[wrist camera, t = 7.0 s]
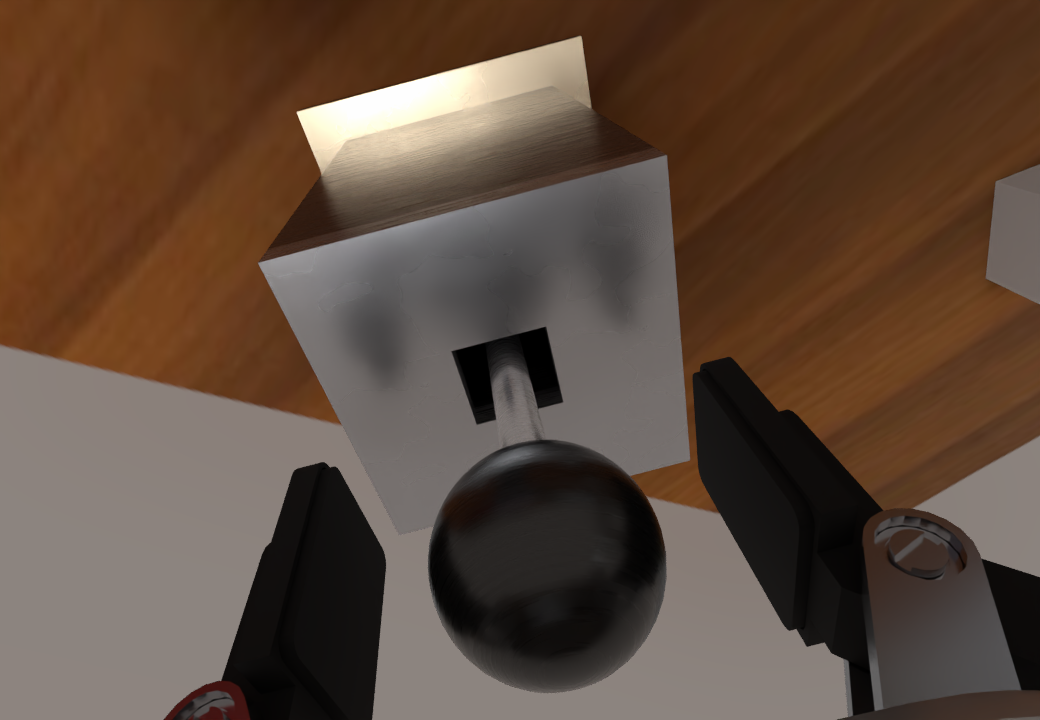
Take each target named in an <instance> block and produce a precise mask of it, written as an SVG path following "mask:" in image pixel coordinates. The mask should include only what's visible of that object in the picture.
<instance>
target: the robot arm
mask: <svg viewBox="0 0 1040 720" xmlns="http://www.w3.org/2000/svg"><path fill="white" fill-rule="evenodd" d="M693 393H694V409H695V424H696V439H697V455H698V468H699V473H700V477H701V480H702V482H703V484H704V486H705V488H706V490H707V491H708V493H709V495H710V497H711V498H712V500H713V502H714V504H715V505H716V507H717V509H718V511H719V513H720V514H721V516H722V518H723V520H724V521H725V523H726V525H727V527H728V528H729V530H730V532H731V534H732V535H733V537H734V539H735V541H736V542H737V544H738V546H739V548H740V549H741V551H742V553H743V555H744V556H745V558H746V560H747V562H748V563H749V565H750V567H751V569H752V570H753V572H754V574H755V576H756V578H757V579H758V581H759V583H760V585H761V586H762V588H763V590H764V592H765V593H766V595H767V597H768V599H769V600H770V602H771V604H772V606H773V607H774V609H775V611H776V612H777V614H778V616H779V618H780V620H781V621H782V623H783V624H784V626H785V627H786V628H787V629H788V630H789V631H790V630H794V629H797V631H798V632H799V634H800V636H801V637H802V639H803V640H804V642H805V644H806V646H807V647H808V646H811V645H816V644H820V643H824V642H825V644H826V645H827V647H828V649H829V650H830V652H831V653H832V654H834V655H837V656H839V657H841V658H843V659H844V671H845V684H846V697H847V710H848V717H847V718H842V719H838V720H1040V577H1037V576H1034V575H1031V574H1028V573H1025V572H1022V571H1018V570H1015V569H1012V568H1009V567H1006V566H1003V565H1000V564H997V563H993V562H990V561H987V560H984V559H981V557H980V554H979V552H978V550H977V548H976V546H975V544H974V542H973V541H972V540H971V539H970V538H969V537H968V536H967V535H966V534H965V533H964V532H963V531H962V530H961V529H960V528H958V527H957V526H955V525H954V524H952V523H951V522H949V521H947V520H946V519H944V518H941V517H938V516H936V515H934V514H931V513H929V512H925V511H920V510H915V509H903V508H894V509H890V510H886V511H883V510H882V509H881V507H880V506H879V505H878V504H877V503H876V502H875V501H874V500H873V499H872V497H871V496H870V495H869V494H868V493H867V492H866V491H865V490H864V489H863V488H862V486H861V485H860V484H859V483H858V482H857V481H856V480H855V479H854V478H853V476H852V475H851V474H850V473H849V472H848V471H847V470H846V469H845V468H844V466H843V465H842V464H841V463H840V462H839V461H838V460H837V459H836V458H835V456H834V455H833V454H832V453H831V452H830V451H829V450H828V449H827V448H826V446H825V445H824V444H823V443H822V442H821V441H820V440H819V439H818V438H817V436H816V435H815V434H814V433H813V432H812V431H811V430H810V429H809V428H808V426H807V425H806V424H805V423H804V422H803V421H802V420H801V419H800V418H799V417H798V416H797V415H796V414H795V413H794V412H793V411H790V410H784V411H780V412H778V411H777V409H776V408H775V407H774V406H773V405H772V404H771V402H770V401H769V400H768V399H767V398H766V397H765V395H764V394H763V393H762V392H761V391H760V390H759V388H758V387H757V386H756V385H755V384H754V383H753V382H752V380H751V379H750V378H749V377H748V376H747V375H746V373H745V372H744V371H743V370H742V369H741V368H740V366H739V365H738V364H737V363H736V362H735V361H734V360H733V359H732V358H731V357H726V358H722V359H718V360H715V361H711V362H707V363H703V364H702V365H701V367H700V372H697V373H694V374H693ZM385 572H386V559H385V554H384V551H383V549H382V547H381V545H380V543H379V542H378V540H377V538H376V536H375V534H374V532H373V531H372V529H371V527H370V525H369V524H368V521H367V520H366V518H365V516H364V515H363V512H362V511H361V509H360V507H359V505H358V503H357V502H356V500H355V498H354V496H353V495H352V493H351V491H350V489H349V487H348V485H347V484H346V482H345V480H344V478H343V476H342V475H341V473H340V471H339V470H338V468H336V467H331V468H330V467H329V466H328V465H327V464H326V463H324V462H321V463H318V464H314V465H310V466H306V467H302V468H298V469H296V470H295V471H294V472H293V474H292V477H291V480H290V484H289V487H288V490H287V493H286V496H285V500H284V503H283V506H282V510H281V512H280V516H279V519H278V522H277V525H276V528H275V532H274V535H273V538H272V542H271V543H270V544H269V545H268V546H267V547H266V548H265V550H264V552H263V554H262V556H261V559H260V563H259V566H258V569H257V572H256V575H255V578H254V581H253V584H252V587H251V590H250V594H249V597H248V600H247V603H246V606H245V609H244V612H243V615H242V618H241V621H240V625H239V628H238V631H237V634H236V637H235V640H234V643H233V646H232V649H231V652H230V656H229V659H228V662H227V665H226V668H225V671H224V674H223V677H222V680H221V681H216V682H213V683H210V684H206V685H204V686H202V687H200V688H198V689H197V690H195V691H193V692H191V693H190V694H189V695H187V696H186V697H185V698H184V699H183V700H181V701H180V702H179V703H178V704H177V705H176V706H175V707H174V708H173V709H172V710H171V711H170V713H169V714H168V715H167V716H166V717H165V718H164V720H372V715H373V703H374V693H375V682H376V671H377V660H378V649H379V638H380V626H381V616H382V605H383V594H384V583H385Z"/></svg>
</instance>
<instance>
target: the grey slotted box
mask: <svg viewBox="0 0 1040 720" xmlns="http://www.w3.org/2000/svg"><path fill="white" fill-rule="evenodd" d="M297 114H298V117H299V119H300V122H301V124H302V127H303V129H304V131H305V134H306V136H307V139H308V141H309V144H310V146H311V148H312V151H313V153H314V156H315V158H316V161H317V163H318V165H319V168H320V170H321V173H322V175H321V176H320V177H319V179H318V180H317V182H316V183H315V184H314V186H313V187H312V189H311V190H310V191H309V193H308V194H307V195H306V197H305V198H304V200H303V201H302V202H301V204H300V205H299V207H298V208H297V209H296V211H295V212H294V214H293V215H292V216H291V218H290V219H289V221H288V222H287V223H286V225H285V226H284V228H283V229H282V230H281V232H280V233H279V234H278V236H277V237H276V239H275V240H274V241H273V243H272V244H271V246H270V247H269V248H268V250H267V251H266V253H265V254H264V255H263V257H262V258H261V260H260V261H259V262H258V264H259V266H260V268H261V270H262V271H263V273H264V275H265V277H266V279H267V281H268V283H269V285H270V287H271V289H272V291H273V293H274V295H275V297H276V299H277V300H278V302H279V304H280V306H281V308H282V310H283V312H284V314H285V316H286V318H287V320H288V322H289V324H290V326H291V328H292V329H293V331H294V333H295V335H296V337H297V339H298V341H299V343H300V345H301V347H302V349H303V351H304V353H305V355H306V356H307V358H308V360H309V362H310V364H311V366H312V368H313V370H314V372H315V374H316V376H317V378H318V380H319V382H320V384H321V385H322V387H323V389H324V391H325V393H326V395H327V397H328V399H329V401H330V403H331V405H332V407H333V409H334V411H335V412H336V414H337V416H338V418H339V420H340V422H341V424H342V426H343V428H344V429H345V432H346V434H347V436H348V437H349V439H350V441H351V443H352V445H353V447H354V449H355V451H356V453H357V455H358V457H359V459H360V460H361V463H362V465H363V466H364V468H365V470H366V472H367V474H368V476H369V478H370V480H371V482H372V484H373V486H374V488H375V490H376V492H377V493H378V496H379V497H380V499H381V501H382V503H383V505H384V507H385V509H386V511H387V513H388V515H389V517H390V518H391V520H392V523H393V524H394V526H395V528H396V530H397V532H398V534H399V535H401V534H406V533H409V532H413V531H417V530H421V529H425V528H428V527H433V526H434V523H435V520H436V518H437V515H438V513H439V511H440V508H441V506H442V504H443V502H444V500H445V499H446V497H447V495H448V494H449V492H450V491H451V489H452V488H453V487H454V485H455V484H456V483H457V481H458V480H459V479H460V478H461V477H462V476H463V475H464V474H465V473H466V472H467V471H468V470H469V469H470V468H471V467H472V466H474V465H475V464H476V463H477V462H479V461H480V460H482V459H483V458H484V457H486V456H488V455H489V454H491V453H493V452H495V451H497V450H499V449H501V448H500V441H499V435H498V428H497V421H496V414H495V408H494V401H493V394H492V387H491V381H490V374H489V367H488V360H487V354H486V347H485V342H488V341H492V340H496V339H500V338H504V337H507V336H511V335H515V334H519V337H520V341H521V345H522V349H523V353H524V357H525V360H526V364H527V368H528V372H529V376H530V380H531V384H532V388H533V391H534V395H535V399H536V403H537V407H538V411H539V415H540V419H541V422H542V426H543V430H544V434H545V438H546V440H561V441H566V442H571V443H575V444H578V445H581V446H584V447H587V448H590V449H592V450H594V451H596V452H598V453H600V454H602V455H603V456H605V457H607V458H609V459H610V460H611V461H613V462H614V463H616V464H617V465H618V466H619V467H620V468H622V469H623V470H624V471H625V472H626V473H627V474H628V475H629V476H631V475H635V474H639V473H642V472H646V471H650V470H654V469H658V468H662V467H666V466H670V465H673V464H677V463H681V462H685V461H689V460H690V453H689V440H688V427H687V413H686V400H685V387H684V374H683V361H682V348H681V334H680V321H679V308H678V295H677V282H676V269H675V255H674V242H673V229H672V216H671V203H670V189H669V176H668V163H667V155H666V154H664V153H663V152H661V151H659V150H658V149H656V148H654V147H653V146H651V145H649V144H648V143H646V142H645V141H643V140H641V139H640V138H638V137H636V136H635V135H633V134H631V133H630V132H628V131H626V130H625V129H623V128H622V127H620V126H618V125H617V124H615V123H613V122H612V121H610V120H608V119H607V118H605V117H603V116H602V115H600V114H599V113H597V112H595V111H594V110H592V108H591V101H590V94H589V87H588V80H587V72H586V65H585V58H584V51H583V44H582V37H581V36H575V37H571V38H567V39H564V40H560V41H556V42H552V43H549V44H545V45H541V46H537V47H534V48H530V49H526V50H522V51H519V52H515V53H511V54H507V55H504V56H500V57H496V58H492V59H489V60H485V61H481V62H477V63H474V64H470V65H466V66H462V67H459V68H455V69H451V70H447V71H444V72H440V73H436V74H432V75H429V76H425V77H421V78H417V79H414V80H410V81H406V82H402V83H399V84H395V85H391V86H387V87H384V88H380V89H376V90H372V91H369V92H365V93H361V94H357V95H354V96H350V97H346V98H342V99H339V100H335V101H331V102H327V103H324V104H320V105H316V106H312V107H309V108H305V109H301V110H299V111H297Z"/></svg>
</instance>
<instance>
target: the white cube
mask: <svg viewBox="0 0 1040 720" xmlns="http://www.w3.org/2000/svg"><path fill="white" fill-rule="evenodd" d="M986 279H988V280H990V281H992V282H994V283H996V284H998V285H1000V286H1003V287H1005V288H1007V289H1009V290H1011V291H1013V292H1015V293H1017V294H1019V295H1021V296H1023V297H1025V298H1027V299H1030V300H1032V301H1034V302H1036V303H1038V304H1040V164H1039V165H1036V166H1034V167H1031V168H1029V169H1026V170H1024V171H1021V172H1019V173H1016V174H1014V175H1011V176H1009V177H1006V178H1003V179H1001V180H998V181H996V184H995V194H994V203H993V213H992V223H991V233H990V242H989V252H988V262H987V271H986Z"/></svg>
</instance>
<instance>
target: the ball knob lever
mask: <svg viewBox="0 0 1040 720" xmlns="http://www.w3.org/2000/svg"><path fill="white" fill-rule="evenodd" d="M485 347H486V354H487V360H488V367H489V374H490V381H491V387H492V394H493V401H494V408H495V414H496V421H497V428H498V435H499V441H500V448H501V449H499V450H497V451H495V452H493V453H491V454H489V455H488V456H486V457H484V458H483V459H482V460H480V461H479V462H477V463H476V464H475V465H474V466H472V467H471V468H470V469H469V470H468V471H467V472H466V473H465V474H464V475H463V476H462V477H461V478H460V479H459V480H458V481H457V483H456V484H455V485H454V487H453V488H452V489H451V491H450V492H449V494H448V495H447V497H446V499H445V500H444V502H443V504H442V506H441V508H440V511H439V513H438V515H437V518H436V520H435V523H434V527H433V531H432V535H431V539H430V545H429V555H428V572H429V582H430V589H431V593H432V597H433V602H434V605H435V608H436V610H437V613H438V615H439V618H440V620H441V622H442V625H443V627H444V628H445V630H446V632H447V633H448V635H449V637H450V638H451V640H452V641H453V643H454V644H455V645H456V646H457V648H458V649H459V650H460V651H461V652H462V653H463V655H464V656H465V657H466V658H467V659H468V660H469V661H470V662H472V663H473V664H474V665H475V666H477V667H478V668H479V669H480V670H482V671H483V672H484V673H486V674H487V675H489V676H491V677H493V678H495V679H497V680H498V681H500V682H502V683H504V684H507V685H509V686H512V687H515V688H519V689H523V690H527V691H532V692H540V693H557V692H565V691H571V690H576V689H580V688H583V687H586V686H589V685H592V684H594V683H596V682H598V681H601V680H602V679H604V678H606V677H608V676H609V675H611V674H612V673H614V672H615V671H616V670H618V669H619V668H620V667H621V666H623V665H624V664H625V663H626V662H628V661H629V660H630V658H631V657H632V656H633V655H634V654H635V653H636V651H637V650H638V649H639V648H640V647H641V645H642V644H643V642H644V641H645V640H646V638H647V637H648V635H649V633H650V631H651V629H652V627H653V625H654V624H655V622H656V619H657V616H658V614H659V611H660V608H661V604H662V601H663V597H664V591H665V584H666V551H665V546H664V540H663V536H662V531H661V528H660V525H659V523H658V520H657V517H656V515H655V513H654V511H653V508H652V507H651V505H650V503H649V501H648V499H647V497H646V496H645V495H644V493H643V492H642V490H641V489H640V488H639V486H638V485H637V484H636V482H635V481H634V480H633V479H632V478H631V477H630V476H629V475H628V474H627V473H626V472H625V471H624V470H623V469H622V468H620V467H619V466H618V465H617V464H616V463H614V462H613V461H611V460H610V459H609V458H607V457H605V456H603V455H602V454H600V453H598V452H596V451H594V450H592V449H590V448H587V447H584V446H581V445H578V444H575V443H571V442H566V441H561V440H546V438H545V434H544V430H543V426H542V422H541V419H540V415H539V411H538V407H537V403H536V399H535V395H534V391H533V388H532V384H531V380H530V376H529V372H528V368H527V364H526V360H525V357H524V353H523V349H522V345H521V341H520V337H519V334H515V335H511V336H507V337H504V338H500V339H496V340H492V341H488V342H485Z"/></svg>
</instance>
